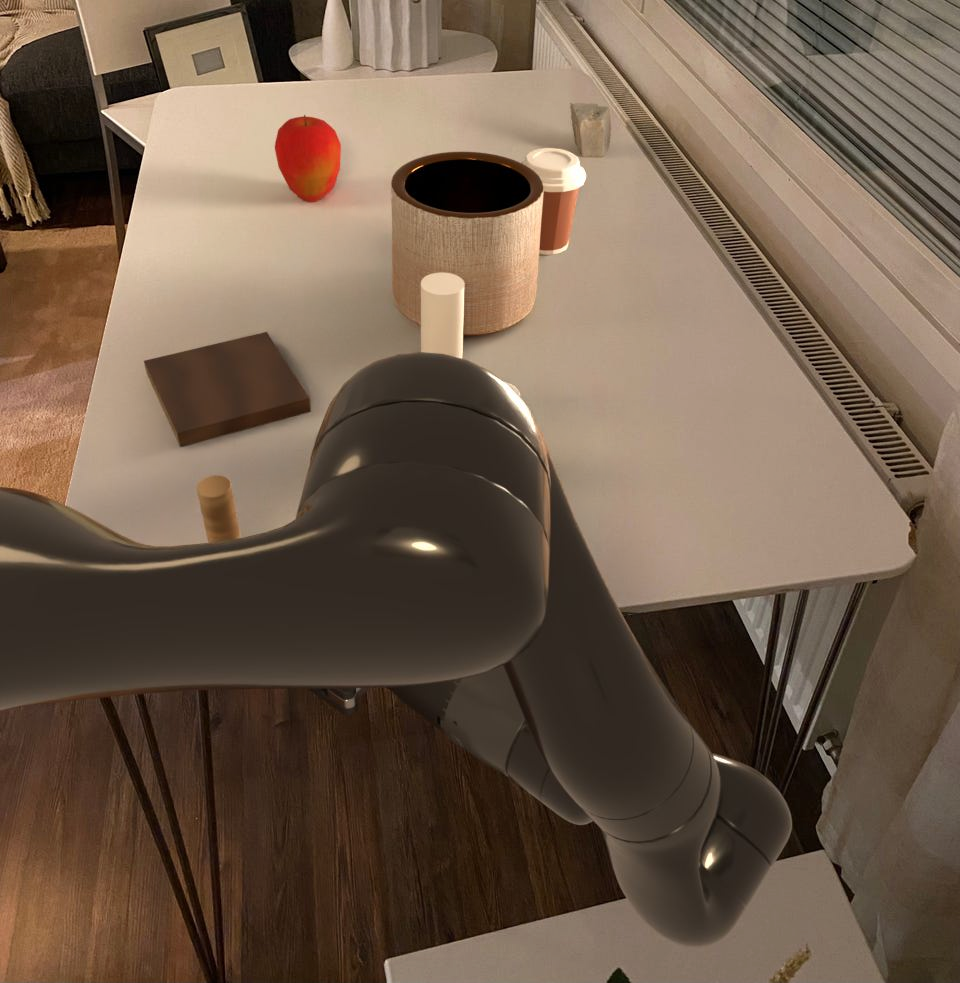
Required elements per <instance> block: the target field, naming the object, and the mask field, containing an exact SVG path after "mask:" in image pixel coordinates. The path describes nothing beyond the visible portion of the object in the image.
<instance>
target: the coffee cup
mask: <svg viewBox="0 0 960 983" xmlns="http://www.w3.org/2000/svg"><path fill="white" fill-rule="evenodd" d="M521 163H522V164H524V165H526V166H528V167H529V168H531V169H532V170H533V171H535V172H536V173H537V174H538V175H539V177H540V178H541V180H542V182H543V186H544V193H543V206H542V219H541V232H540V247H539V255H541V256H554V255H557V254H561V253H563V252H565V251H566V250H567V248H568V246H569V241H570V236H571V231H572V226H573V221H574V215H575V210H576V205H577V200H578V195H579V190H580V187H582V186H584V183H585V182H586V179H587V174H586V173H587V172H586V171H585V169H584V167H583V166H581V164H580V160H579V157H578V156H577V155H575V154H574V153H572V152H571V151H568V150H566V149H563V148H556V147H555V148H554V147H544V148H543V147H542V148H536V149H534V150H531V151H530V152H528V153H527V154H526V155H525V157H524V160H523V161H522V162H521Z"/></svg>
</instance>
